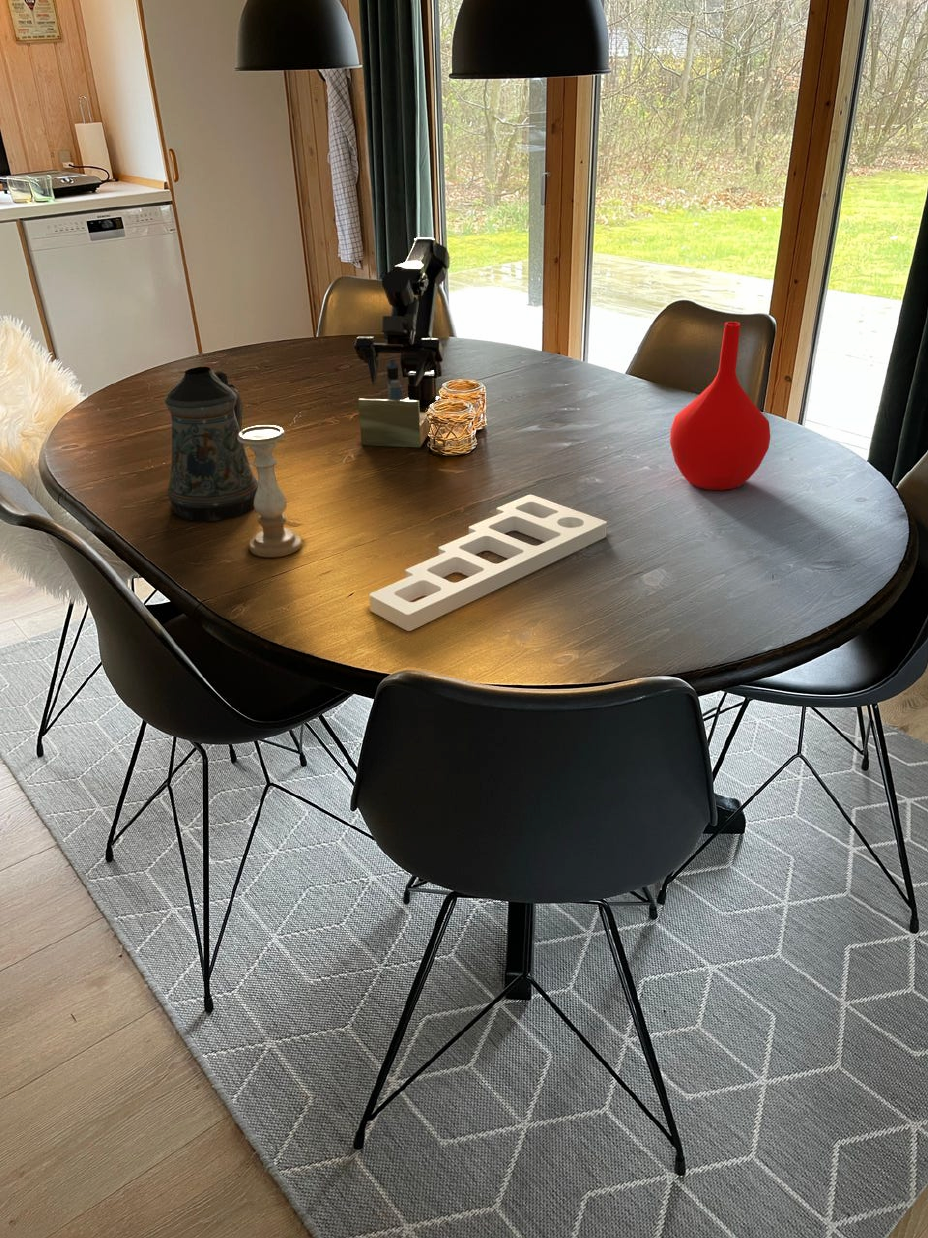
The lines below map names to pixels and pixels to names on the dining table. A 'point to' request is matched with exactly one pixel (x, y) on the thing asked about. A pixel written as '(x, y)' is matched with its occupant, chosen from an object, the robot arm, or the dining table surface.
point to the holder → (525, 515)
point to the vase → (720, 428)
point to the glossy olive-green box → (392, 423)
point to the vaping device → (393, 381)
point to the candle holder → (268, 495)
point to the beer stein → (208, 449)
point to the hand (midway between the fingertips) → (394, 384)
